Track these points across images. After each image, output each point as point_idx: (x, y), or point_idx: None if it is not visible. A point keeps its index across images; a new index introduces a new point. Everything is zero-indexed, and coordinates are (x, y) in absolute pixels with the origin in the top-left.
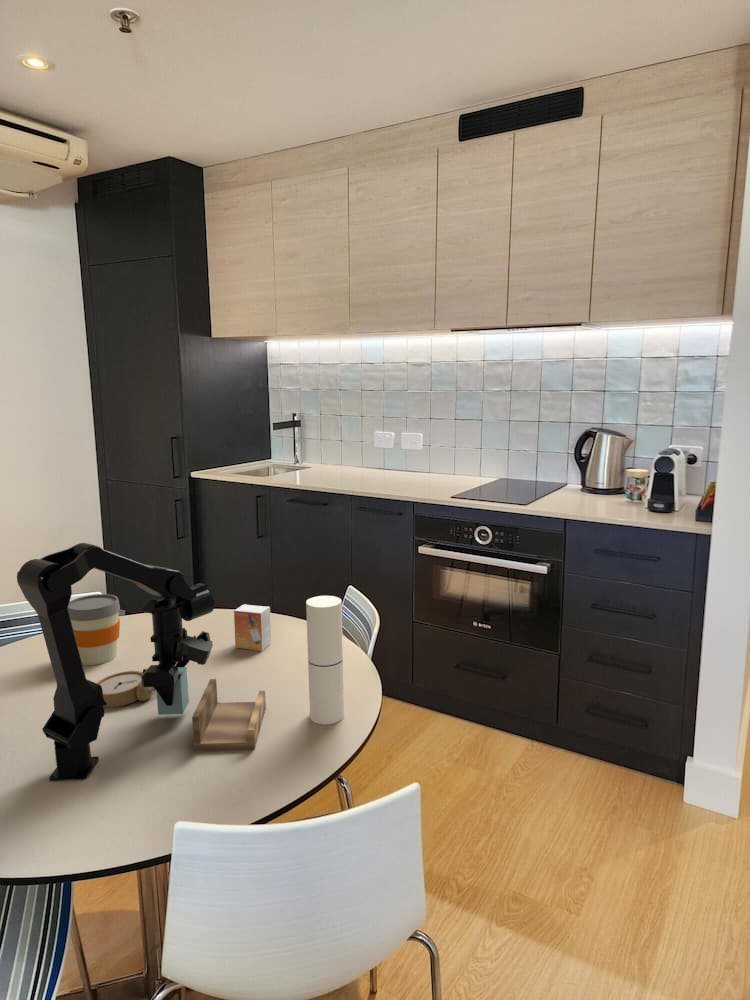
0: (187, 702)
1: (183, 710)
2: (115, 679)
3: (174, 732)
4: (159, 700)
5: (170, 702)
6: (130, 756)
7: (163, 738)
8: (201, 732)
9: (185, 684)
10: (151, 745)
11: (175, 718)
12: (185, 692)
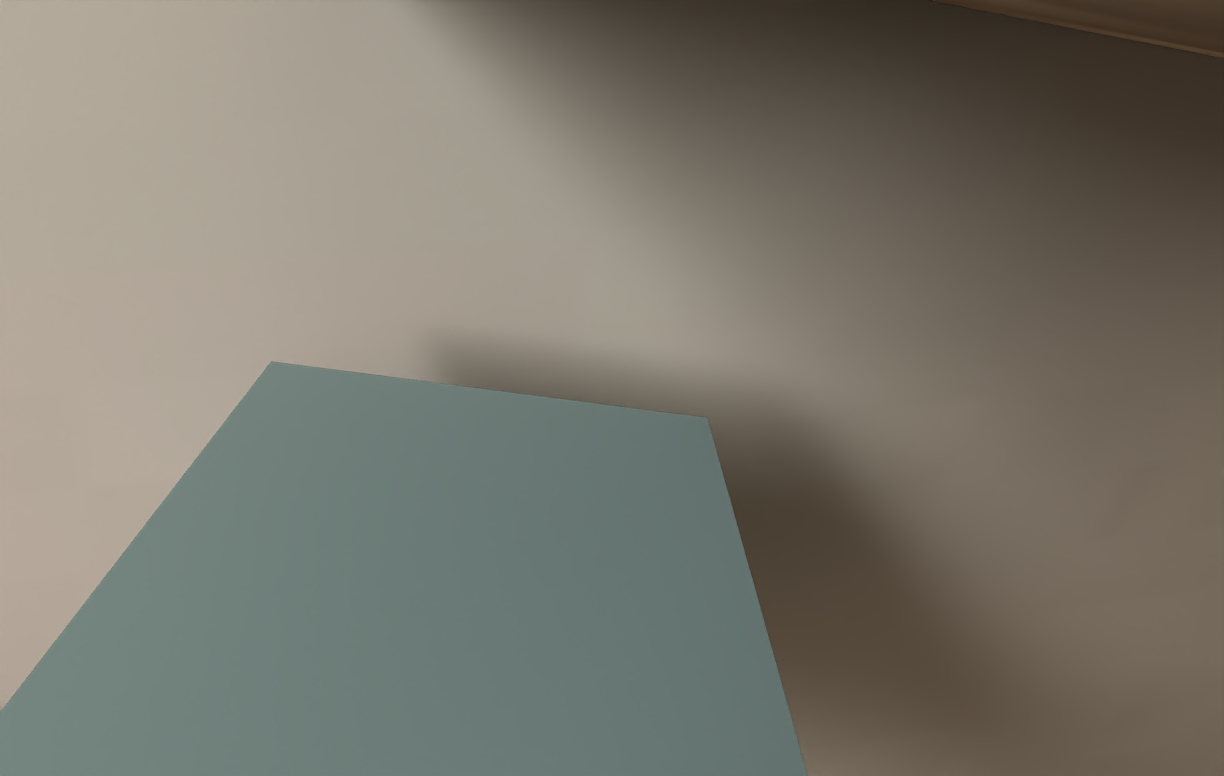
0: (361, 396)
1: (659, 431)
2: None
3: (892, 427)
4: None
5: None
6: (1181, 734)
7: (984, 524)
8: None
9: (278, 758)
10: (1076, 611)
11: None
12: (398, 581)
